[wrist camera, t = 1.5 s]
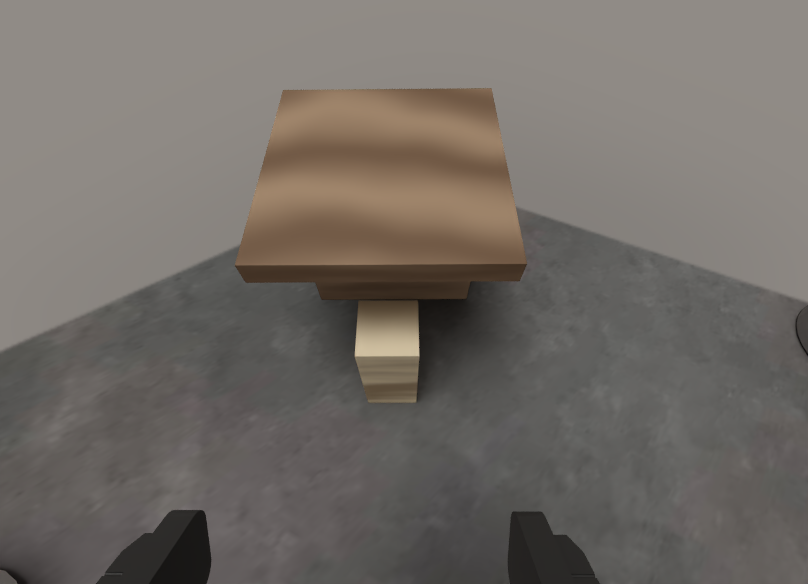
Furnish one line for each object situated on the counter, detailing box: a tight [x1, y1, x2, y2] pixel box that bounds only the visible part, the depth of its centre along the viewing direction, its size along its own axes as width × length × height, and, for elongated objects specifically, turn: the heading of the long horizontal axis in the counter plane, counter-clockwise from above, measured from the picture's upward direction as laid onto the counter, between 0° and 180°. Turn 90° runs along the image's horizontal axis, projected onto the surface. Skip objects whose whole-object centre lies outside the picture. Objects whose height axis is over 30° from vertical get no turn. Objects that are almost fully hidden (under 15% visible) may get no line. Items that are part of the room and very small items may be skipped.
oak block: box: [355, 301, 419, 403], centre depth 30 cm, size 4×4×10 cm
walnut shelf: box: [235, 88, 527, 300], centre depth 30 cm, size 14×14×18 cm
